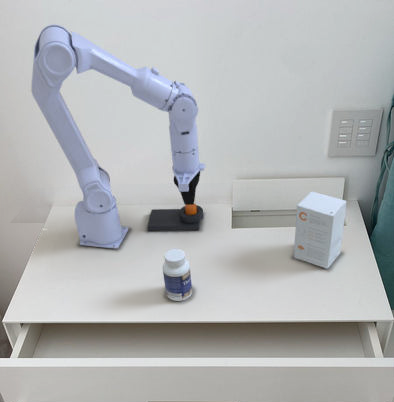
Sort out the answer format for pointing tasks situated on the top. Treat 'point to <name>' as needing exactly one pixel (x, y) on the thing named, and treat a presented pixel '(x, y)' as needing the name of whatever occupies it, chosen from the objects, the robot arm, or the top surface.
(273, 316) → the top surface
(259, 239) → the top surface
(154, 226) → the scale
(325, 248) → the small box
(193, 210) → the button
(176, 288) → the pill bottle
